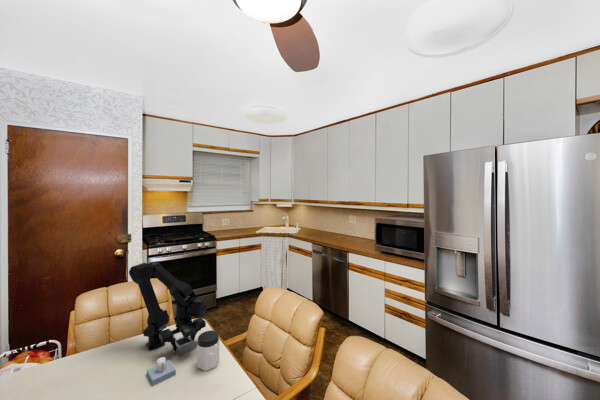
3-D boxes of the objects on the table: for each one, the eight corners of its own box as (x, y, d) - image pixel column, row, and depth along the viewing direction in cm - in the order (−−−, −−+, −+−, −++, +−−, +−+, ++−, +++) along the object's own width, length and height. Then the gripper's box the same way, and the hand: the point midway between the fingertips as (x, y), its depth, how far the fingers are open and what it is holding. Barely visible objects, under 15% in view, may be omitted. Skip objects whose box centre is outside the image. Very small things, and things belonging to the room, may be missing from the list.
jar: (199, 373, 97) (199, 344, 97) (195, 362, 104) (195, 334, 104) (222, 365, 102) (222, 337, 102) (216, 354, 109) (216, 328, 109)
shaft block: (146, 374, 97) (146, 359, 97) (168, 364, 103) (168, 350, 102) (152, 385, 91) (152, 369, 91) (175, 374, 97) (175, 359, 97)
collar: (172, 349, 112) (172, 341, 112) (188, 343, 117) (188, 334, 117) (178, 356, 107) (178, 347, 107) (194, 349, 112) (194, 341, 112)
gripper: (166, 328, 100) (167, 366, 100) (211, 312, 113) (211, 346, 113) (158, 318, 108) (158, 353, 108) (200, 305, 121) (200, 336, 121)
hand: (183, 347), depth 112 cm, fingers closed on collar, 7 cm apart
